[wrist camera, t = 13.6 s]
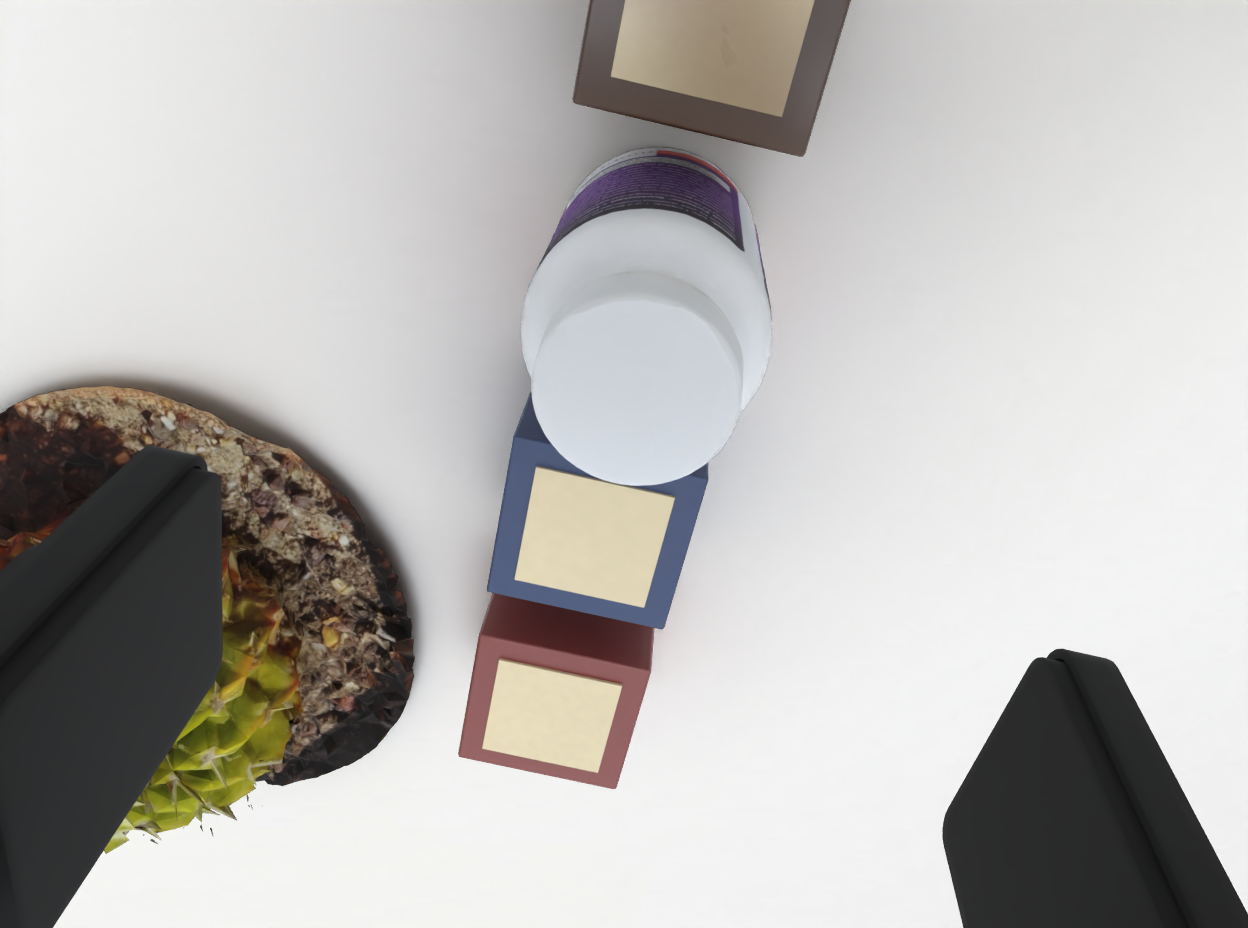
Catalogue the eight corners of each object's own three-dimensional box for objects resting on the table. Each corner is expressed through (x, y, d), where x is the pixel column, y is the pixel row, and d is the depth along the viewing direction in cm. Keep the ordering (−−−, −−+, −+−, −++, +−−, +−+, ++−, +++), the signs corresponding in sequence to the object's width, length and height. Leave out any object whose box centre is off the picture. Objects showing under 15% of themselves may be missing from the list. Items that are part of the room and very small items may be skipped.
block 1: (543, 357, 28) (512, 436, 24) (708, 394, 28) (708, 480, 24) (517, 498, 31) (485, 594, 26) (669, 531, 31) (663, 633, 26)
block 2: (510, 536, 31) (478, 636, 27) (659, 569, 32) (651, 673, 27) (489, 651, 34) (456, 760, 29) (627, 680, 34) (615, 793, 30)
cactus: (493, 736, 36) (426, 987, 27) (134, 803, 39) (-25, 1045, 31) (277, 315, 28) (92, 482, 20) (-145, 444, 32) (-459, 634, 23)
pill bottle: (522, 215, 26) (433, 352, 18) (689, 102, 24) (682, 193, 16) (631, 370, 28) (598, 560, 20) (793, 275, 26) (835, 439, 18)
